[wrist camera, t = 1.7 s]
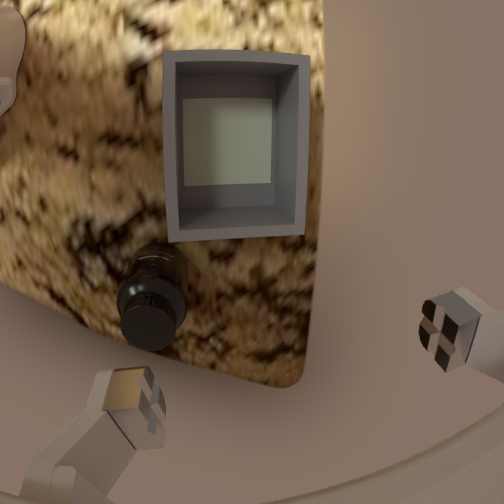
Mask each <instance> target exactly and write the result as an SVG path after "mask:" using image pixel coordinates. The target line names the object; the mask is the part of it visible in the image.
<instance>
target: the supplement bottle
mask: <svg viewBox="0 0 504 504" xmlns="http://www.w3.org/2000/svg"><path fill="white" fill-rule="evenodd" d="M116 303H117V310H118V313H119V315H120V317H121V323H120V326H121V331H122V334H123V335H124V337H125V339H126V340H127V341H128V342H129V343H131V344H132V345H133V346H135V347H136V348H140V349H142V350H147V351H148V350H151V351H153V350H159V349H162V348H163V347H166V346H167V345H168V344H170V342H171V341H172V340H173V338H174V336H175V332H176V329H177V328H178V327H179V326H180V325H181V324H182V323H183V321H184V319H185V317H186V314H187V309H188V268H187V263H186V261H185V259H184V257H183V255H182V254H181V253H180V252H179V251H178V250H177V249H176V248H174V247H172V246H170V245H168V244H165V243H150V244H147V245H145V246H143V247H141V248H140V249H138V250H137V251H136V252H135V254H134V255H133V257H132V259H131V261H130V263H129V266H128V268H127V270H126V273H125V275H124V278H123V280H122V283H121V285H120V288H119V291H118V294H117V300H116Z"/></svg>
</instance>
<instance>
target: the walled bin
mask: <svg viewBox="0 0 504 504" xmlns="http://www.w3.org/2000/svg"><path fill="white" fill-rule="evenodd" d="M309 122H310V56H308V55H300V54H291V53H280V52H268V51H251V50H178V51H163V77H162V128H163V164H164V185H165V203H166V218H167V231H168V243H169V242H185V241H201V240H217V239H234V238H251V237H269V236H287V235H305V219H306V201H307V180H308V156H309Z"/></svg>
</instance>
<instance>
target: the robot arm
mask: <svg viewBox="0 0 504 504" xmlns="http://www.w3.org/2000/svg"><path fill="white" fill-rule="evenodd" d="M24 45H25V26H24V22H23V19H22V17H21V15H20V14H19V12H18V11H17V10H15V9H14V8H12V7H10V6H5V5H0V102H1V104H0V116H1V115H2V114H3V113H4V112H5V111H6V110H7V109H8V108H9V107H11V105H12V104H13V103H14V101H15V98H16V74H17V70H18V67H19V64H20V61H21V58H22V54H23V50H24ZM422 313H423V315H424V318H423V320H422V321H421V322H420V325H419V337H420V341H421V343H422V345H423V347H424V348H425V349H426V350H427V351H428V352H431V353H434V354H435V357H434V358H435V361H436V362H437V363H438V365H439V366H440V367H441V368H442V369H443V371H444V372H445V373H446V372H448V371H451V370H453V369H455V368H457V367H460V366H462V365H464V364H466V365H467V366H469V367H471V368H473V369H475V370H477V371H479V372H481V373H484V374H486V375H488V376H490V377H492V378H494V379H496V380H498V381H500V382H503V383H504V311H503V310H499V309H496V310H493V309H492V308H491V307H489V306H488V305H487V304H486V303H484V302H483V301H482V300H481V299H479V298H478V297H477V296H475V295H474V294H473V293H472V292H470V291H469V290H468V289H466V288H464V287H459V288H456V289H454V290H451V291H449V292H447V293H444V294H442V295H439V296H436V297H434V298H431V299H428V300H425V302H424V304H423V306H422ZM153 381H154V374H153V373H152V371H151V369H150V367H148V366H141V367H132V368H120V369H112V370H100V371H99V372H98V373H97V374H96V377H95V380H94V383H93V386H92V390H91V393H90V396H89V399H88V402H87V406H86V409H85V412H80V413H79V414H78V415H77V416H76V417H75V418H74V419H73V420H71V422H69V423H68V424H67V425H66V426H65V427H64V428H63V429H62V430H61V431H60V432H59V433H58V434H57V435H56V436H55V437H54V438H52V440H50V441H49V442H48V443H47V444H46V445H45V446H44V447H43V448H42V449H41V450H40V451H39V452H38V453H36V455H34V456H33V457H32V458H31V459H30V460H29V464H28V467H27V470H26V474H25V477H24V480H23V484H22V488H21V491H20V495H19V496H16V495H12V494H9V493H5V492H2V491H0V504H115V503H114V502H112V501H111V500H110V499H109V498H108V497H106V496H107V494H108V493H109V492H110V490H111V488H112V487H113V486H114V484H115V483H116V481H117V480H118V478H119V477H120V475H121V474H122V473H123V471H124V470H125V468H126V467H127V465H128V464H129V462H130V461H131V459H132V458H133V456H134V455H135V453H136V450H148V449H159V448H164V440H165V429H164V427H163V425H162V423H161V422H162V421H163V420H164V419H165V418H166V406H165V399H164V396H163V393H162V391H161V389H160V387H159V386H158V385H156V384H154V383H153ZM260 504H504V404H502V405H501V406H499V407H498V408H496V409H495V410H493V411H492V412H490V413H489V414H487V415H486V416H484V417H483V418H481V419H479V420H478V421H476V422H475V423H473V424H471V425H470V426H468V427H466V428H465V429H463V430H461V431H460V432H458V433H456V434H454V435H452V436H450V437H449V438H447V439H445V440H443V441H441V442H439V443H437V444H435V445H433V446H431V447H430V448H427V449H425V450H424V451H421V452H419V453H418V454H415V455H413V456H411V457H408V458H406V459H404V460H402V461H399V462H397V463H395V464H392V465H390V466H388V467H385V468H383V469H380V470H377V471H375V472H372V473H370V474H367V475H365V476H361V477H359V478H356V479H353V480H350V481H347V482H344V483H341V484H337V485H334V486H331V487H328V488H325V489H321V490H317V491H314V492H310V493H306V494H302V495H298V496H294V497H290V498H285V499H280V500H275V501H270V502H265V503H260Z"/></svg>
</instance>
